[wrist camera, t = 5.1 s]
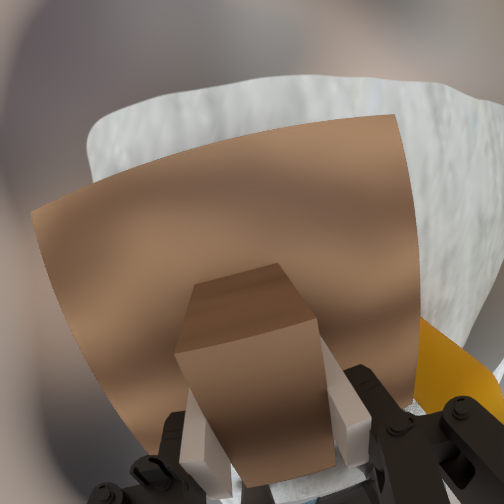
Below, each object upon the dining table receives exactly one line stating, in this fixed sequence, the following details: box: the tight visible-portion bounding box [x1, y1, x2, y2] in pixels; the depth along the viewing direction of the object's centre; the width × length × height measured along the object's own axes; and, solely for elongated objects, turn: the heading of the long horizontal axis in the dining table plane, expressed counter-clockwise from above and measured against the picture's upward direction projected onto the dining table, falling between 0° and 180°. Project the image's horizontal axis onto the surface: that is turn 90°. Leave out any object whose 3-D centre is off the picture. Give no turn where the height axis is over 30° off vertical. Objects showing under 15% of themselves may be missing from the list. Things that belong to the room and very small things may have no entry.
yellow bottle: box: [413, 317, 504, 425], centre depth 25 cm, size 9×9×29 cm
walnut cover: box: [31, 114, 420, 488], centre depth 12 cm, size 20×20×8 cm
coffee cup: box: [241, 481, 275, 504], centre depth 40 cm, size 8×8×10 cm
